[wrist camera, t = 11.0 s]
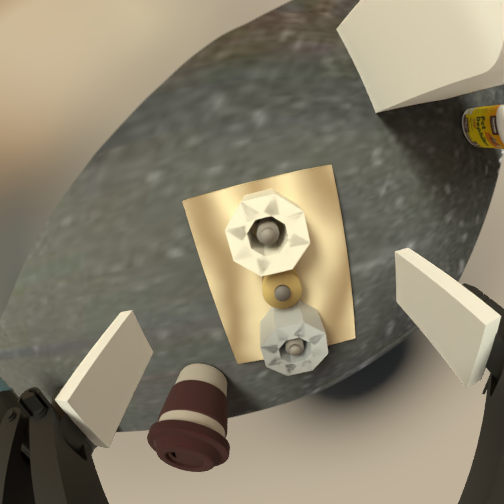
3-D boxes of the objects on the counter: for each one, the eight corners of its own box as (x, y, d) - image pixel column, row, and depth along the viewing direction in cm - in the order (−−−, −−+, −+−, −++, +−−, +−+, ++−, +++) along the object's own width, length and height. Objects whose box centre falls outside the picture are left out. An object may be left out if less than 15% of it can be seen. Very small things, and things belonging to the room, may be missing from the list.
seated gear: (269, 352, 34) (270, 378, 29) (256, 308, 32) (255, 332, 27) (322, 341, 33) (329, 366, 28) (314, 294, 31) (323, 317, 26)
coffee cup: (248, 373, 37) (243, 460, 23) (217, 407, 40) (206, 482, 26) (187, 344, 36) (157, 429, 21) (163, 381, 38) (135, 456, 24)
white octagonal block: (225, 200, 28) (218, 207, 23) (291, 183, 27) (298, 188, 22) (242, 262, 30) (239, 281, 25) (305, 247, 29) (314, 264, 25)
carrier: (238, 356, 36) (235, 390, 30) (186, 199, 29) (167, 209, 23) (352, 331, 34) (366, 362, 28) (328, 164, 28) (346, 165, 22)
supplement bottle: (454, 114, 25) (506, 108, 15) (475, 104, 24) (524, 99, 14) (468, 152, 26) (520, 157, 16) (488, 140, 25) (537, 143, 15)
